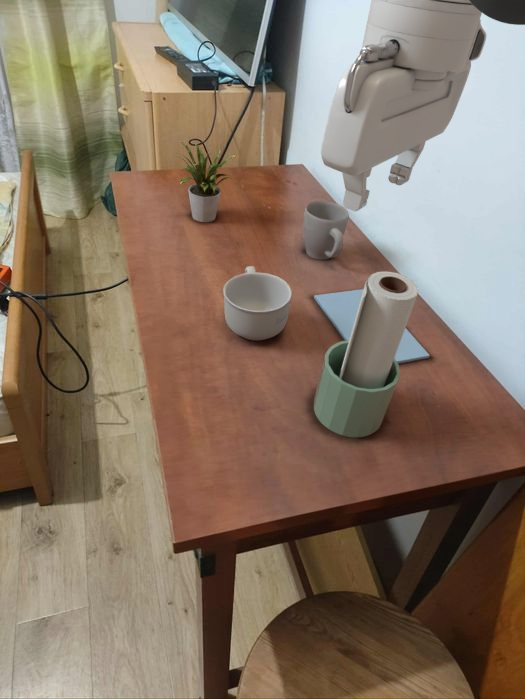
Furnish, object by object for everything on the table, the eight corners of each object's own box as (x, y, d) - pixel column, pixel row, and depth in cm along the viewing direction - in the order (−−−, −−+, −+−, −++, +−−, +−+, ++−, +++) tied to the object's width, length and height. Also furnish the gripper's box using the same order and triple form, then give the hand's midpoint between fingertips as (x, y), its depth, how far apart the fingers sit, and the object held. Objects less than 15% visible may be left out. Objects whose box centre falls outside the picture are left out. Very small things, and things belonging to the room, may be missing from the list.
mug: (291, 244, 109) (298, 201, 102) (329, 241, 111) (338, 199, 105) (313, 274, 100) (322, 230, 94) (353, 270, 103) (364, 227, 97)
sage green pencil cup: (391, 403, 75) (408, 357, 70) (369, 448, 68) (387, 402, 63) (329, 376, 78) (341, 331, 72) (302, 417, 71) (313, 371, 65)
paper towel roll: (369, 393, 76) (411, 271, 62) (377, 424, 72) (425, 300, 58) (322, 390, 75) (354, 267, 62) (327, 422, 71) (363, 295, 57)
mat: (428, 358, 84) (430, 355, 84) (366, 369, 80) (367, 367, 80) (369, 290, 98) (370, 287, 98) (313, 297, 94) (314, 295, 94)
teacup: (285, 352, 82) (293, 312, 76) (218, 346, 81) (220, 305, 76) (284, 302, 92) (290, 264, 87) (224, 296, 92) (227, 257, 86)
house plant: (152, 216, 111) (149, 140, 101) (189, 196, 121) (190, 125, 110) (206, 237, 107) (209, 160, 96) (240, 214, 117) (246, 142, 106)
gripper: (396, 57, 35) (352, 239, 44) (493, 36, 48) (444, 179, 57) (319, 37, 37) (292, 213, 46) (431, 23, 50) (393, 161, 59)
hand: (377, 194), depth 52 cm, fingers open, 8 cm apart
